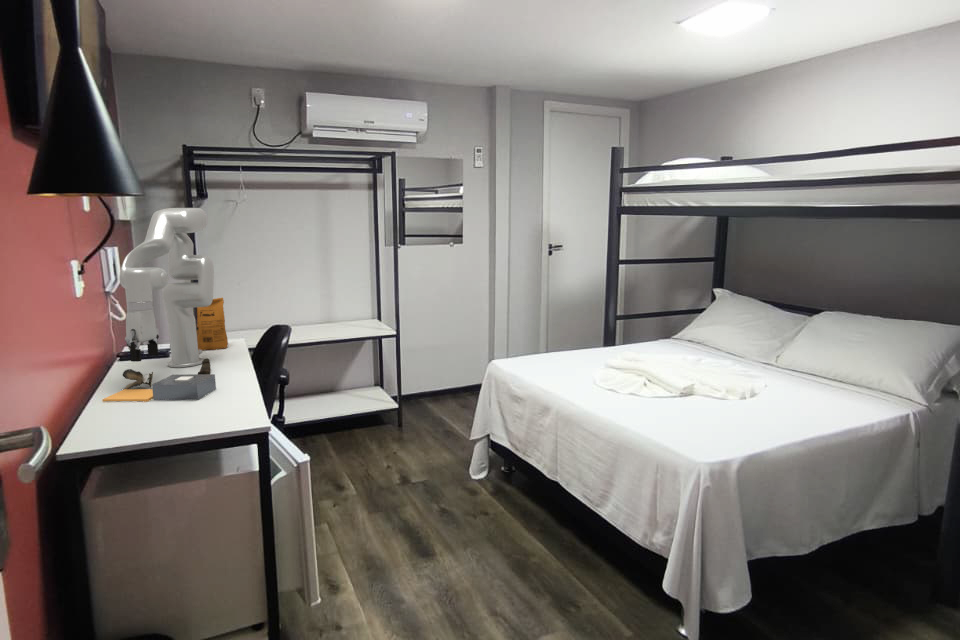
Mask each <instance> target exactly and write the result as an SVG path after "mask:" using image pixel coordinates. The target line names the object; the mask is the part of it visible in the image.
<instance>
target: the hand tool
mask: <svg viewBox="0 0 960 640" xmlns="http://www.w3.org/2000/svg"><path fill="white" fill-rule="evenodd" d="M203 359H204V360H203V361H202V363H201V367H200V370H199V371H198V372H197V374H211V371H212V369H211V360H210V358H208V357H206V358H203Z"/></svg>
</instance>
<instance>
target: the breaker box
mask: <svg viewBox="0 0 960 640" xmlns="http://www.w3.org/2000/svg"><path fill="white" fill-rule="evenodd" d="M191 376H194V379H192V380H190V381H175V379H177V378H179V377H191ZM216 384H217V383H216V374H212V373H210V374H198V373H197V374H195V373H194V374H193V373H192V374H191V373H190V374H171V375H169V376H167V377H164V378H163V379H160V380H159V381H155V382H154V383H151V389H152V390H153V399H152V400H153V401H199V400H201V399H203V398H204V397H206V396H207V395H209V394H211V393H212V392H213V390H214V391H215V390H217V385H216ZM208 393H209V394H208ZM205 395H206V396H205ZM200 398H201V399H200Z"/></svg>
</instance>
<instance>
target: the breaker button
mask: <svg viewBox="0 0 960 640" xmlns="http://www.w3.org/2000/svg"><path fill="white" fill-rule="evenodd" d="M192 379H194V376H191V377H179V378H177V379H175V381H190V380H192Z"/></svg>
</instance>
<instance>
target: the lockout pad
mask: <svg viewBox="0 0 960 640" xmlns="http://www.w3.org/2000/svg"><path fill="white" fill-rule="evenodd" d="M123 389H124V388H123ZM121 390H122V389H121ZM121 390H119V391H118V392H115V393H113V394H111V395H109V396H106V397H104V398H102V401H142V402H141V403H143V401H144V403H147V402H149V400H150V401H152V400H153V390H152V388H135V389H134V388H130V389H124V390H122V391H121ZM151 399H152V400H151Z"/></svg>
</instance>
